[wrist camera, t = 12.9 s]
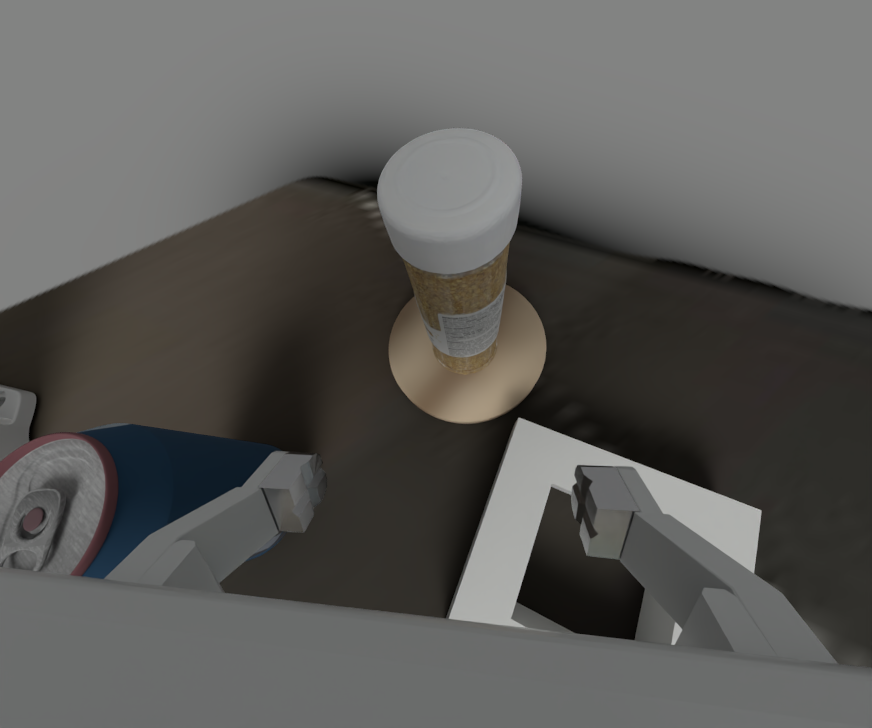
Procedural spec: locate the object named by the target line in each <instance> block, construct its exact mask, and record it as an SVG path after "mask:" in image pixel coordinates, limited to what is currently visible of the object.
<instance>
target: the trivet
mask: <svg viewBox="0 0 872 728" xmlns="http://www.w3.org/2000/svg"><path fill="white" fill-rule="evenodd" d="M497 341H498V346H497V351H496V354H495V356H494V358H493V360H492V361H491V362H490V364H489V365H488V366H487V367H485V368H484V369H483V370H481V371H478V372H476V373H471V374H467V375H464V374H458V373H454V372H451V371H449V370H447V369H445V368H444V367H443V366H442V365H441V364H440V363H439V362H438V361H437V359H436V357H435V355H434V352H433V347H432V342H431V340H430V339H429V336H428V334H427V331H426V328H425V325H424V322H423V320H422V317H421V314H420V311H419V308H418V306H417V302H416V299H415V296H414V297H413V298H412V299H411V300H410V301H409V302H408V303H407V304H406V305H405V306H404V308H403V309H402V310H401V312H400V313H399V315H398V317H397V319H396V321H395V323H394V325H393V328H392V331H391V335H390V340H389V360H390V366H391V369H392V373H393V375H394V377H395V380H396V382H397V383H398V385H399V387H400V388H401V390H402V391H403V392H404V393H405V395H406V396H407V397H408V398H409V399H410V400H411V401H412V402H413V403H414V404H415V405H416V406H417V407H418V408H420V409H421V410H423V411H424V412H425V413H427V414H429V415H431V416H433V417H435V418H437V419H440V420H443V421H446V422H452V423H458V424H475V423H481V422H486V421H490V420H493V419H496V418H498V417H500V416H502V415H504V414H506V413H508V412H510V411H511V410H512V409H514V408H515V407H517V406H518V405H519V404H520V403H521V402H522V401H523V400H524V399H525V398H526V397H527V396H528V394H529V393H530V392H531V390H532V389H533V387H534V385H535V384H536V382H537V380H538V379H539V376H540V374H541V372H542V369H543V366H544V362H545V357H546V337H545V332H544V328H543V325H542V322H541V320H540V318H539V316H538V314H537V312H536V311H535V309H534V308H533V306H532V305H531V304H530V303H529V302H528V300H527V299H526V298H525V297H524V296H522V295H521V294H520V293H519V292H518V291H516V290H514V289H513V288H511V287H510V286H508V285H506V284H505V291H504V299H503V306H502V313H501V319H500V325H499V331H498V334H497Z"/></svg>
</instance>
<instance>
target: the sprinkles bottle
mask: <svg viewBox="0 0 872 728" xmlns="http://www.w3.org/2000/svg"><path fill="white" fill-rule="evenodd" d="M521 191H522V172H521V168H520V164H519V162H518V159H517V157H516V155H515V154H514V153H513V151H512V150H511V149H510V148H509V147H508V146H507V145H506V144H505V143H504V142H503V141H501V140H500V139H498V138H497V137H495V136H493V135H491V134H489V133H486V132H483V131H480V130H476V129H469V128H448V129H442V130H436V131H433V132H429V133H426V134H424V135H421V136H419V137H417V138H415V139H413V140H412V141H410V142H408V143H407V144H406V145H404V146H403V147H402V148H400V149H399V150H398V151H397V152H396V153H395V154H394V155H393V156H392V157H391V158H390V159H389V161H388V162H387V164H386V165H385V167H384V169H383V171H382V173H381V176H380V178H379V182H378V188H377V200H378V205H379V209H380V212H381V215H382V218H383V221H384V224H385V227H386V229H387V232H388V234H389V237H390V240H391V242H392V244H393V246H394V248H395V250H396V251H397V253H398V254H399V255H400V256H401V257H402V258H403V261H404V264H405V266H406V269H407V272H408V275H409V278H410V281H411V284H412V287H413V290H414V295H415V299H416V302H417V306H418V308H419V311H420V314H421V317H422V320H423V322H424V325H425V328H426V331H427V334H428V336H429V339H430V340H431V342H432V347H433V352H434V355H435V357H436V359H437V361H438V362H439V363H440V364H441V365H442V366H443V367H444V368H445V369H447V370H449V371H451V372H454V373H458V374H464V375H467V374H471V373H476V372H478V371H481V370H483V369H484V368H485V367H487V366H488V365H489V364H490V362H491V361H492V360H493V358H494V356H495V354H496V351H497V346H498V341H497V334H498V331H499V325H500V319H501V313H502V306H503V299H504V291H505V284H506V276H507V271H506V267H507V259H508V251H509V243H510V240H511V238H512V236H513V234H514V232H515V229H516V226H517V221H518V215H519V208H520V200H521Z"/></svg>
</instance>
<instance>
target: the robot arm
mask: <svg viewBox="0 0 872 728" xmlns="http://www.w3.org/2000/svg"><path fill="white" fill-rule="evenodd" d="M35 406H36V395H35V394H34V393H32V392H29V391H25V390H21V389H17V388H13V387H8V386H4V385H0V461H2V460H3V459H4V458H5V457H6V456H8V455H9V454H10V453H12V452H13V451H14V450H16V449H17V448H19V447H21V446H22V445H24V444H26V443H28V442H29V427H30V424H31V421H32V417H33V414H34V410H35ZM322 463H323V462H322V459H321V456H320V455H319V454H317V453H305V452H291V451H290V452H285V451H275V452H272V453H271V454H270V455H269V456H268V457H267V459H266V460H265V461H264V462H263V463H262V464H261V465H260V466H259V468H258V469H257V470H256V471H255V472H254V473H253V474H252V476H251V477H250V478H249V479H248V480H247V481H246V482H245V484H244V485H243V486H242V487H236V488H234V489H232V490H230V491H229V492H227V493H225V494H223V495H221V496H220V497H218V498H216V499H214V500H212V501H210V502H209V503H207V504H205V505H203V506H201V507H199V508H198V509H196V510H194V511H192V512H190V513H189V514H187V515H185V516H183V517H181V518H179V519H178V520H176V521H174V522H172V523H170V524H168V525H167V526H165V527H163V528H161V529H159V530H157V531H156V532H154V533H152V534H150V535H149V536H148V537H147V538H146V539H145V540H143V541H142V542H141V543H140V544H139V545H138V546H137V547H136V548H135V549H134V550H133V551H132V552H131V553H130V554H129V555H128V556H127V557H126V558H125V559H124V560H123V561H122V562H121V563H120V564H119V565H118V566H117V567H116V568H115V569H113V570H112V571H111V572H110V573H109V574H108V575H107V576H106V577H105V578H104V579H100V578H91V577H83V576H74V575H65V574H57V573H48V572H40V571H31V570H22V569H14V568H5V567H0V728H872V668H870V667H862V666H853V665H844V664H838V663H837V662H836V661H835V660H834V658H833V657H832V656H831V655H830V653H829V652H828V651H827V649H826V648H825V647H824V646H823V644H822V643H821V642H820V641H819V639H818V638H817V637H816V636H815V634H814V633H813V632H812V631H811V629H810V628H809V627H808V626H807V624H806V623H805V622H804V620H803V619H802V618H801V617H800V615H799V614H798V613H797V612H796V610H795V609H794V608H793V607H792V605H791V604H790V603H789V602H788V600H787V599H786V598H785V597H784V595H783V594H782V593H781V592H779V591H778V590H777V589H775V588H774V587H772V586H771V585H769V584H768V583H767V582H765V581H764V580H762V579H761V578H759V577H758V576H757V575H755V574H754V573H752V572H751V571H749V570H748V569H747V568H745V567H744V566H742V565H741V564H740V563H738V562H737V561H735V560H734V559H732V558H731V557H730V556H728V555H727V554H725V553H724V552H722V551H721V550H720V549H718V548H717V547H715V546H714V545H712V544H711V543H710V542H708V541H707V540H705V539H704V538H702V537H701V536H700V535H698V534H697V533H695V532H694V531H692V530H691V529H690V528H688V527H687V526H685V525H684V524H682V523H681V522H680V521H678V520H677V519H675V518H674V517H672V516H671V515H670V514H663V512H662V511H661V509H660V508H659V506H658V504H657V503H656V501H655V500H654V498H653V496H652V495H651V493H650V492H649V490H648V488H647V487H646V485H645V483H644V482H643V480H642V479H641V477H640V475H639V474H638V472H637V471H636V469H635V468H633V467H629V466H593V465H577V467H576V468H575V474H574V476H575V478H576V481H577V483H575V484H574V485H573V486H572V492H571V502H572V509H573V513H574V517H575V520H577V521H578V522H579V523H580V524H581V529H580V536H581V539H582V542H583V546H584V549H585V552H586V555H587V556H593V557H602V558H612V559H620V562H621V563H622V564H623V565H624V566H625V567H626V568H627V569H628V570H629V572H630V573H631V574H632V575H633V576H634V577H635V578H636V579H637V580H638V581H639V582H640V584H641V585H642V586H643V587H644V588H645V589H646V590H647V591H648V592H649V593H650V595H651V596H652V597H653V598H654V599H655V600H656V601H657V602H658V603H659V604H660V605H661V607H662V608H663V609H664V610H665V611H666V612H667V613H668V614H669V615H670V616H671V618H672V619H673V620H674V621H675V622H676V623H677V624H678V625H679V626H680V627H681V629H682V632H681V634H680V636H679V638H678V639H677V641H676V643H675V645H671V644H662V643H654V642H645V641H636V640H628V639H619V638H610V637H602V636H593V635H584V634H576V633H567V632H558V631H550V630H541V629H532V628H524V627H515V626H506V625H498V624H489V623H480V622H472V621H463V620H454V619H446V618H437V617H428V616H420V615H411V614H402V613H393V612H385V611H376V610H367V609H358V608H350V607H341V606H332V605H324V604H315V603H306V602H298V601H289V600H281V599H272V598H263V597H255V596H246V595H237V594H229V593H225V592H224V591H223V589H222V587H221V585H220V584H219V583H220V582H221V581H222V580H223V579H224V578H226V577H227V576H228V575H229V574H230V573H231V572H233V571H234V570H235V569H236V568H237V567H239V566H240V565H241V564H242V563H243V562H244V561H246V560H247V559H248V558H249V557H250V556H252V555H253V554H254V553H255V552H256V551H257V550H259V549H260V548H261V547H262V546H263V545H265V544H266V543H267V542H268V541H269V540H271V539H272V538H273V537H274V536H275V535H276V534H278V531H286V532H305V530H306V528H307V526H308V525H309V523H310V521H311V519H312V517H313V516H314V509H313V507H315V506H316V505H318V504H319V503H320V502H321V501H322V499H323V497H324V495H325V492H326V488H327V477H326V473H325V472H324V471H323V470H322V469H321V468H320V466H321V465H322Z"/></svg>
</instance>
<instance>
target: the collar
mask: <svg viewBox="0 0 872 728" xmlns="http://www.w3.org/2000/svg"><path fill="white" fill-rule="evenodd" d="M577 465H593V466H629V467H633V468H635V469H636V471H637V472H638V474H639V475H640V477H641V479H642V480H643V482H644V483H645V485H646V487H647V488H648V490H649V492H650V493H651V495H652V496H653V498H654V500H655V501H656V503H657V504H658V506H659V508H660V509H661V511H662V512H663V514H670V515H671V516H672V517H674V518H675V519H677V520H678V521H680V522H681V523H682V524H684V525H685V526H687V527H688V528H690V529H691V530H692V531H694V532H695V533H697V534H698V535H700V536H701V537H702V538H704V539H705V540H707V541H708V542H710V543H711V544H712V545H714V546H715V547H717V548H718V549H720V550H721V551H722V552H724V553H725V554H727V555H728V556H730V557H731V558H732V559H734V560H735V561H737V562H738V563H740V564H741V565H742V566H744V567H745V568H747V569H748V570H749V571H751V572H752V573H754V569H755V560H756V552H757V544H758V535H759V527H760V519H761V510H759V509H756V508H754V507H751V506H749V505H746V504H743V503H741V502H738V501H736V500H733V499H730V498H728V497H725V496H723V495H720V494H717V493H715V492H712V491H709V490H707V489H704V488H702V487H699V486H696V485H694V484H691V483H689V482H686V481H683V480H681V479H678V478H676V477H673V476H670V475H668V474H665V473H662V472H660V471H657V470H655V469H652V468H649V467H647V466H644V465H642V464H639V463H636V462H634V461H631V460H629V459H626V458H623V457H621V456H618V455H616V454H613V453H610V452H608V451H605V450H602V449H600V448H597V447H595V446H592V445H589V444H587V443H584V442H582V441H579V440H576V439H574V438H571V437H569V436H566V435H563V434H561V433H558V432H556V431H553V430H550V429H548V428H545V427H542V426H540V425H537V424H535V423H532V422H529V421H527V420H524V419H522V418H518V419H517V421H516V423H515V424H514V426H513V429H512V431H511V434H510V437H509V440H508V443H507V446H506V448H505V451H504V454H503V457H502V460H501V463H500V466H499V468H498V471H497V474H496V477H495V480H494V483H493V486H492V488H491V491H490V494H489V497H488V500H487V503H486V505H485V508H484V511H483V514H482V517H481V520H480V523H479V525H478V528H477V531H476V534H475V537H474V540H473V542H472V545H471V548H470V551H469V554H468V557H467V560H466V562H465V565H464V568H463V571H462V574H461V577H460V579H459V582H458V585H457V588H456V591H455V594H454V597H453V599H452V602H451V605H450V608H449V611H448V614H447V616H446V619H454V620H463V621H472V622H480V623H489V624H498V625H506V626H515V627H524V628H532V629H541V630H550V631H558V632H567V633H574V632H572V631H570V630H568V629H566V628H564V627H562V626H560V625H559V624H557V623H555V622H553V621H551V620H549V619H547V618H545V617H544V616H542V615H540V614H538V613H536V612H534V611H532V610H530V609H529V608H527V607H525V606H523V605H521V604H519V603H517V602H516V601H517V597H518V594H519V591H520V587H521V584H522V581H523V577H524V574H525V571H526V567H527V564H528V561H529V557H530V554H531V551H532V548H533V544H534V541H535V538H536V534H537V531H538V528H539V524H540V521H541V518H542V514H543V511H544V508H545V504H546V501H547V498H548V494H549V491H550V488H551V487H553V488H556V489H558V490H560V491H563V492H565V493H568V494H570V495H571V492H572V486H573V485H574V484H575V483H577V481H576V478H575V476H574V474H575V468H576V467H577ZM681 632H682V629H681V627H680V626H679V625H678V624H677V623H676V622H675V621H674V620H673V619H672V618H671V616H670V615H669V614H668V613H667V612H666V611H665V610H664V609H663V608H662V607H661V605H660V604H659V603H658V602H657V601H656V600H655V599H654V598H653V597H652V596H651V595H650V593H649V592H648V591H647V590H646V589H645V591H644V596H643V600H642V605H641V610H640V615H639V620H638V625H637V630H636V635H635V640H636V641H645V642H654V643H662V644H671V645H675V643H676V641H677V639H678V638H679V636H680V634H681Z"/></svg>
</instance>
